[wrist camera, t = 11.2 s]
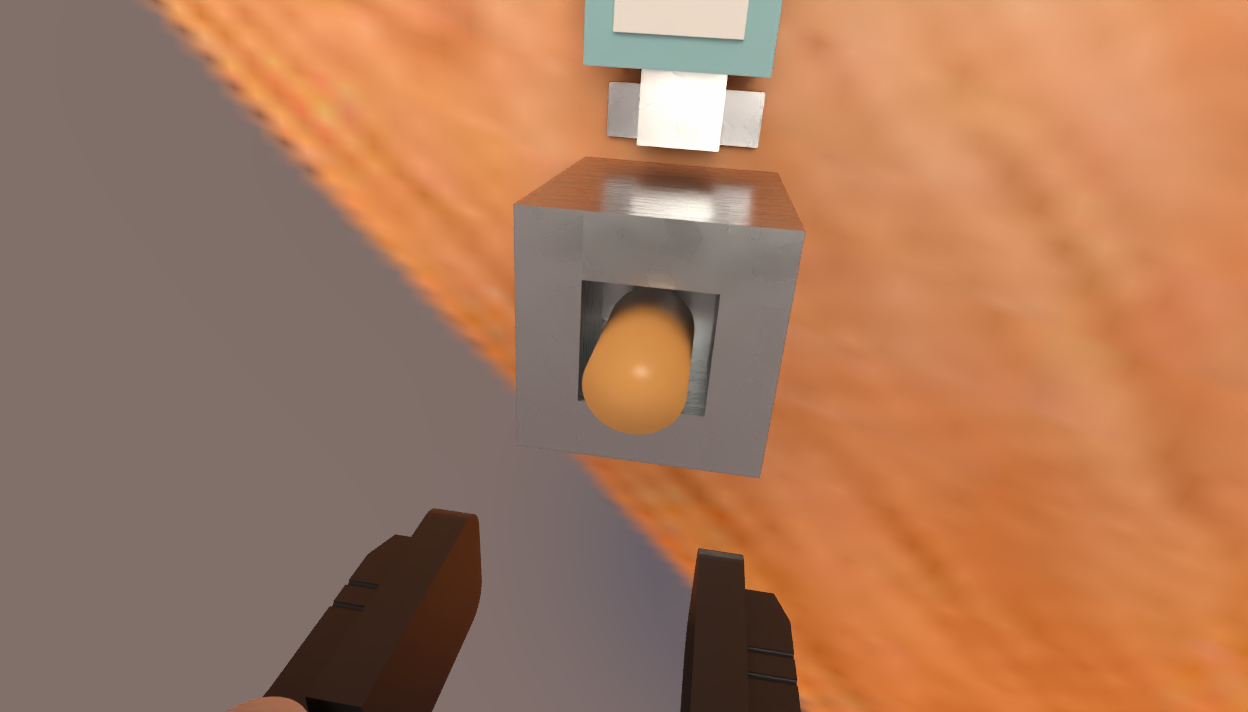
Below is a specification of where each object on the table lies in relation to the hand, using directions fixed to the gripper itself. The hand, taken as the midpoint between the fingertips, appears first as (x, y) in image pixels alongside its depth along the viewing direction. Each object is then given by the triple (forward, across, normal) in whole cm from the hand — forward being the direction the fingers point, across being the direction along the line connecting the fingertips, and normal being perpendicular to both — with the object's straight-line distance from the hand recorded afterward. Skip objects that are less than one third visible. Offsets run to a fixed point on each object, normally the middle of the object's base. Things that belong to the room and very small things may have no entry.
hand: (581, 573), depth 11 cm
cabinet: (+19, 0, 0) cm, 19 cm away
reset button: (+11, 0, 0) cm, 11 cm away
